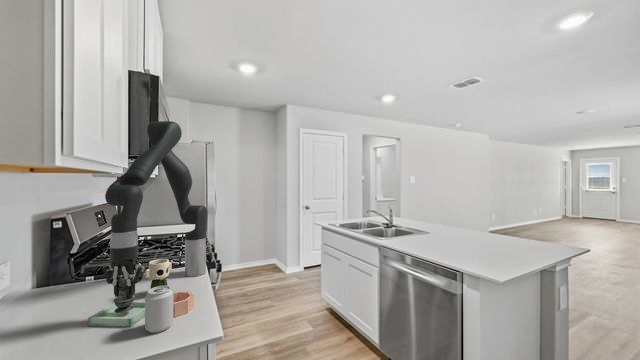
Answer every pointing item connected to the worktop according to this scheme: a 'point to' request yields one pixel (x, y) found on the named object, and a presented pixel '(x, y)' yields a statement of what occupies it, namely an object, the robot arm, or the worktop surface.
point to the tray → (118, 316)
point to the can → (158, 309)
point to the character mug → (158, 272)
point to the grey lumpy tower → (123, 297)
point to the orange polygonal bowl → (182, 303)
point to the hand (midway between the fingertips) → (124, 295)
